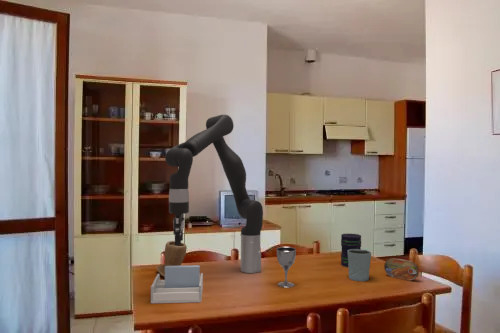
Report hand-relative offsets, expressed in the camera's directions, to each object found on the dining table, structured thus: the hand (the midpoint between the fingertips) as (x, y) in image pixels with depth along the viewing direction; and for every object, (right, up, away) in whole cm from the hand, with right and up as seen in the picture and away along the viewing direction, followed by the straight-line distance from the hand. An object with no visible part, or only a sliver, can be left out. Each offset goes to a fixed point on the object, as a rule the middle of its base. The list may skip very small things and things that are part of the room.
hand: (178, 242), depth 150 cm
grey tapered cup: (+76, -21, +24) cm, 82 cm away
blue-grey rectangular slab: (+1, -19, 0) cm, 19 cm away
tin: (+95, -21, +24) cm, 100 cm away
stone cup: (-8, -20, +27) cm, 35 cm away
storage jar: (+78, -20, +46) cm, 92 cm away
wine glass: (+42, -20, +14) cm, 49 cm away
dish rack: (0, -20, 0) cm, 20 cm away
